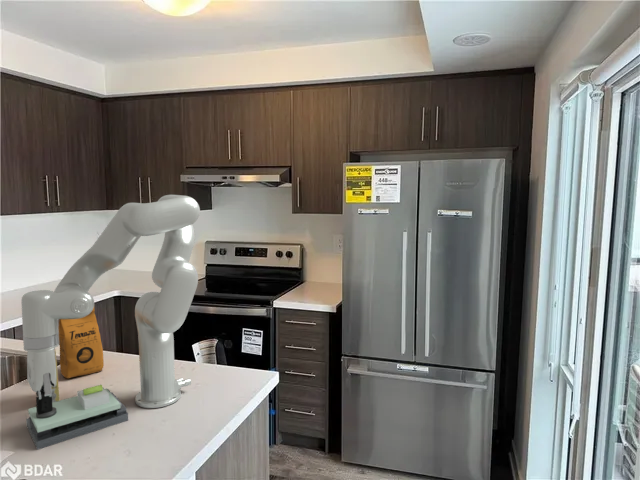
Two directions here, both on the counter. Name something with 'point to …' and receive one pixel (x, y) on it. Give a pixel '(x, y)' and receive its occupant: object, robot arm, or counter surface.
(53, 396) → the candy box
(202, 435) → the counter surface
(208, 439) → the counter surface
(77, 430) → the base
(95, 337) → the coffee package
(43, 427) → the levelling plate
